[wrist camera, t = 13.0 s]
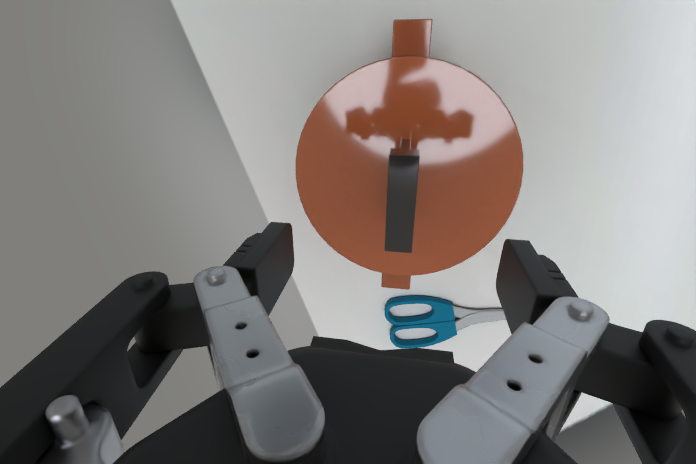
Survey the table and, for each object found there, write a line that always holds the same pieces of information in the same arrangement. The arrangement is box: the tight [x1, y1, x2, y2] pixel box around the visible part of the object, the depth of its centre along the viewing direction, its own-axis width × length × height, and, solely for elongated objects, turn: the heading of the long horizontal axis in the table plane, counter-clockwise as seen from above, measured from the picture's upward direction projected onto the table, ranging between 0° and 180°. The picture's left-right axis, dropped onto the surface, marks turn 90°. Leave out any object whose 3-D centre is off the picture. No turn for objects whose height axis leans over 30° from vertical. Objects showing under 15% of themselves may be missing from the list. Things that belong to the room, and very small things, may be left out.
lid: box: [296, 56, 523, 275], centre depth 24 cm, size 16×16×6 cm
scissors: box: [385, 296, 506, 348], centre depth 42 cm, size 7×1×20 cm
